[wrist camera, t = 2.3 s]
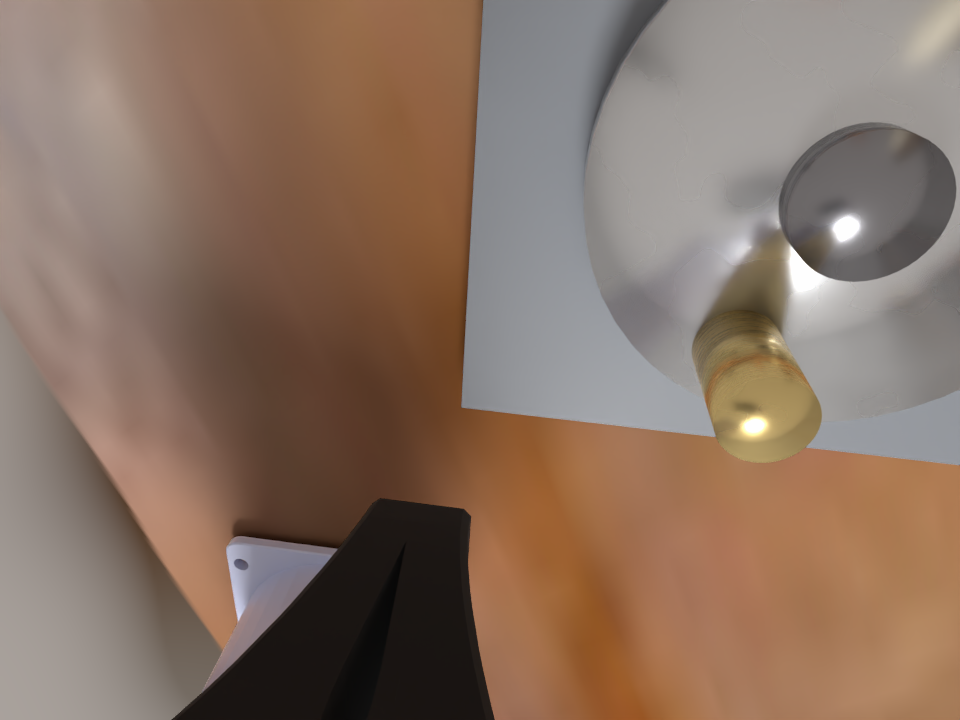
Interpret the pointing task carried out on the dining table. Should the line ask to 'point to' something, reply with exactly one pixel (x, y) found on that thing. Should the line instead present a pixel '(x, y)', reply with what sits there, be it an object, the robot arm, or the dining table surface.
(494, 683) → the dining table surface
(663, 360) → the flange plate
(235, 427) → the dining table surface
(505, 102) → the jig board
